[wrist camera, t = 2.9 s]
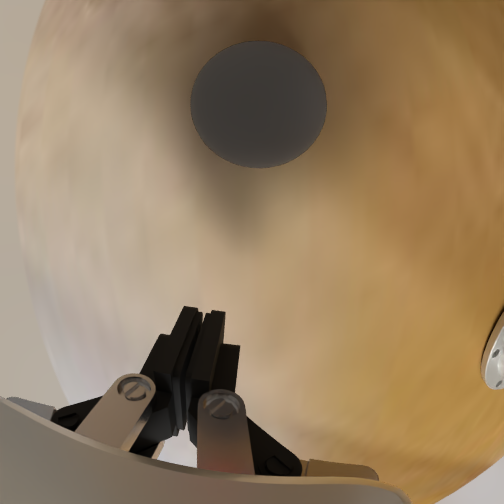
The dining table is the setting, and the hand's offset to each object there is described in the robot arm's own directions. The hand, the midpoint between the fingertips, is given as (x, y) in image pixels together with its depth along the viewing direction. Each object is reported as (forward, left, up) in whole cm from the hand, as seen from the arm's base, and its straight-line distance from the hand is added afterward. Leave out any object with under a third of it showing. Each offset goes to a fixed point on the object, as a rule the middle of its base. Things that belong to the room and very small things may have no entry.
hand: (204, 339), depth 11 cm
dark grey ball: (-3, -9, -3) cm, 10 cm away
